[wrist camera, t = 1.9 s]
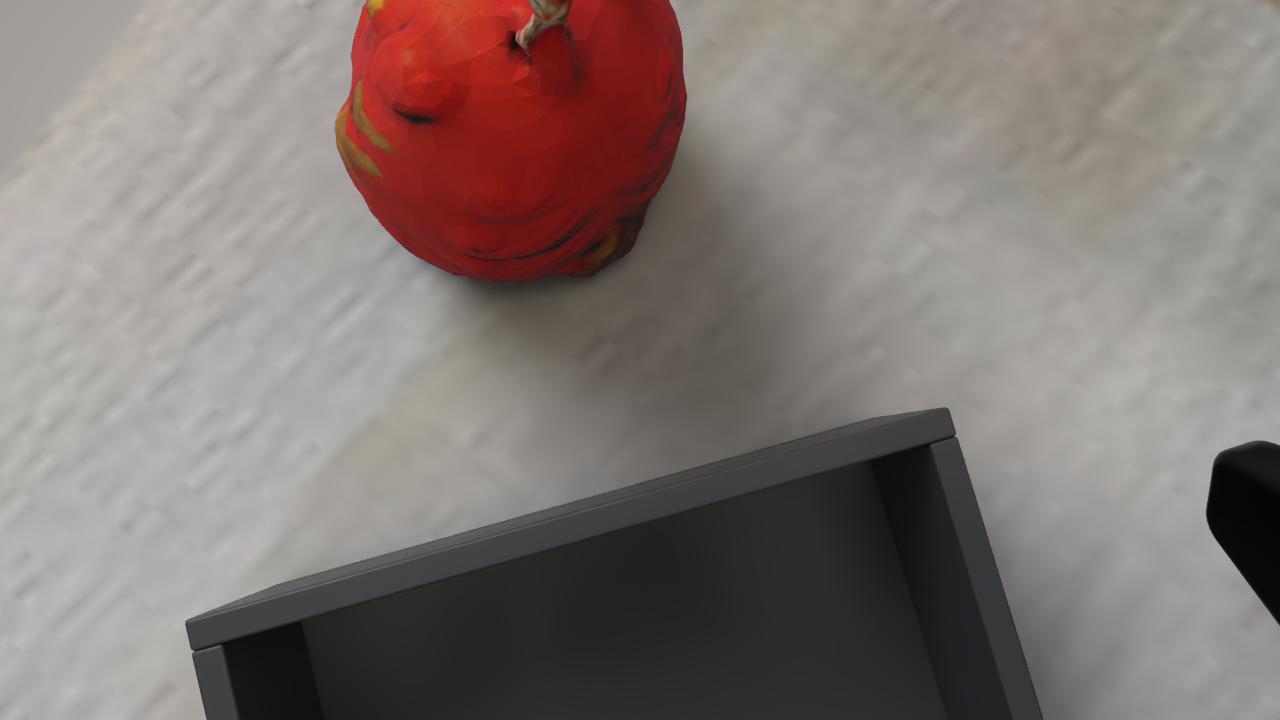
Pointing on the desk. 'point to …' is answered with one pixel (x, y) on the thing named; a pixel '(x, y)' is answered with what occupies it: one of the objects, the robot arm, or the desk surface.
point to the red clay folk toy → (513, 128)
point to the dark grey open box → (661, 604)
